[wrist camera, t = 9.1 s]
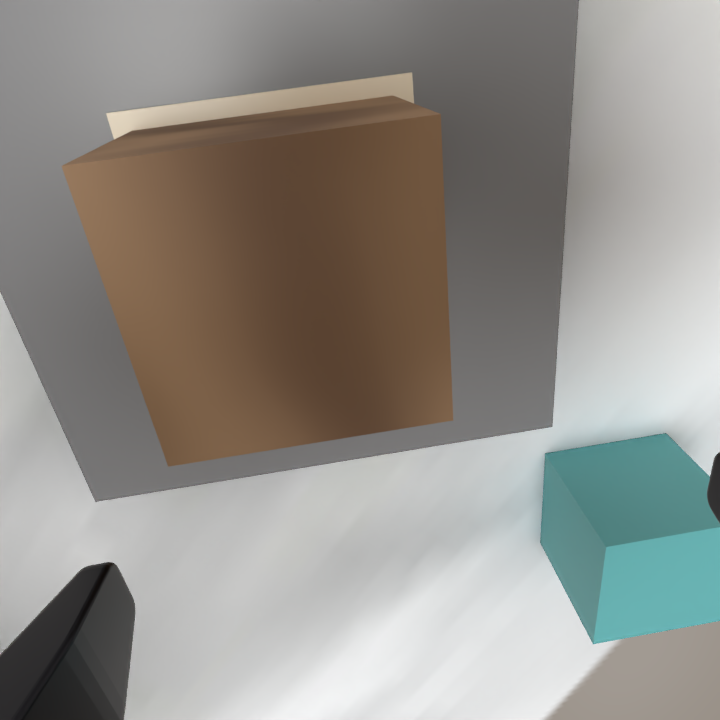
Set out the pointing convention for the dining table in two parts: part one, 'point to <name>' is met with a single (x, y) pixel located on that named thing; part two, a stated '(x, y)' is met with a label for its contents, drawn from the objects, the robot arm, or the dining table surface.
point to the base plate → (276, 93)
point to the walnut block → (277, 273)
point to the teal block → (632, 537)
